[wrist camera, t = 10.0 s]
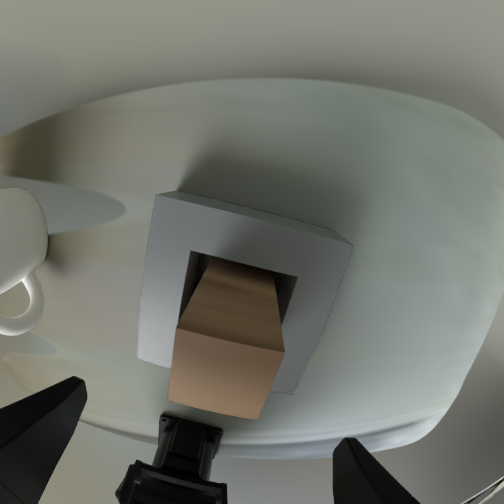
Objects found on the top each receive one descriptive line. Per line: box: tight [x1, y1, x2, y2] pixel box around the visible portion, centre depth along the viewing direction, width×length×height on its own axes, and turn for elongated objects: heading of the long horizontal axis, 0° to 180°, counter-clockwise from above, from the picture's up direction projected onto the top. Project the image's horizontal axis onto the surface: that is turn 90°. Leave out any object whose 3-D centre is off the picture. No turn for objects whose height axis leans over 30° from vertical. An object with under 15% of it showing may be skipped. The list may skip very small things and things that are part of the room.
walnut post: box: [168, 256, 285, 420], centre depth 15 cm, size 4×4×10 cm
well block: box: [137, 190, 354, 395], centre depth 18 cm, size 11×11×4 cm
